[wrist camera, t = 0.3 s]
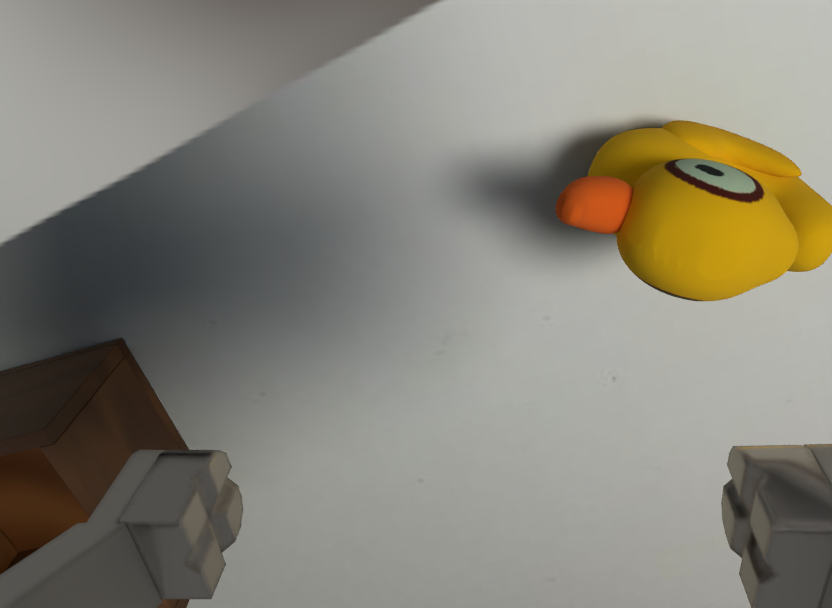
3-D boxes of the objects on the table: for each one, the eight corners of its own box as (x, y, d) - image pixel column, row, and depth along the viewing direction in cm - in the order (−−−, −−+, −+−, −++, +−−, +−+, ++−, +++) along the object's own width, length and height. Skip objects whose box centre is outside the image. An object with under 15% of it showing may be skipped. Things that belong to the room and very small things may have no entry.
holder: (-105, 400, 38) (-225, 498, 31) (122, 337, 35) (43, 429, 28) (21, 555, 43) (-59, 667, 36) (225, 510, 40) (180, 622, 34)
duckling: (514, 199, 31) (538, 300, 22) (551, 80, 28) (596, 138, 19) (750, 254, 31) (867, 375, 22) (806, 142, 29) (963, 227, 20)
